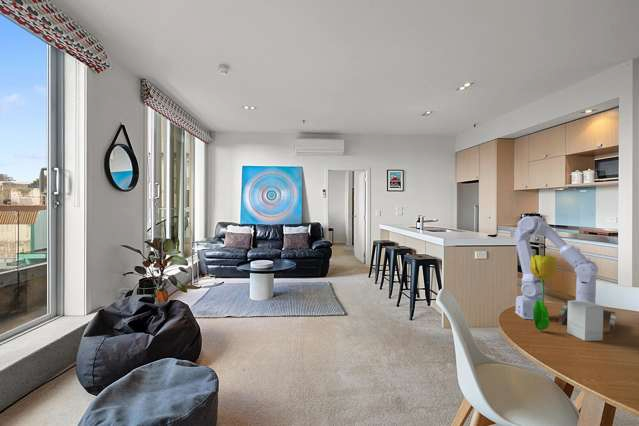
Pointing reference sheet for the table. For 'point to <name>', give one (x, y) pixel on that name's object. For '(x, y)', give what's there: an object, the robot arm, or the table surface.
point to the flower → (543, 271)
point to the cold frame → (607, 317)
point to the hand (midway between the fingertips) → (584, 326)
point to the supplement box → (585, 320)
